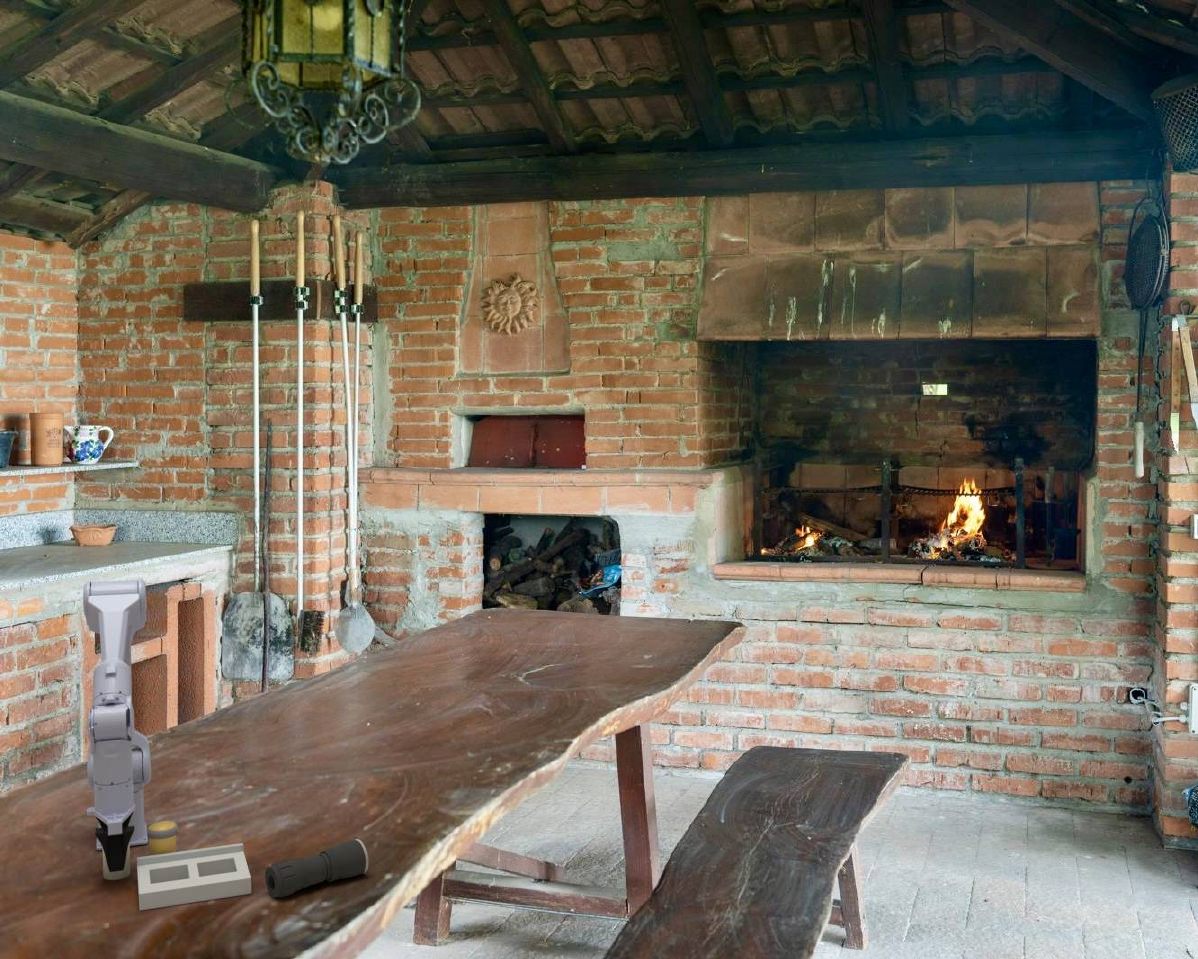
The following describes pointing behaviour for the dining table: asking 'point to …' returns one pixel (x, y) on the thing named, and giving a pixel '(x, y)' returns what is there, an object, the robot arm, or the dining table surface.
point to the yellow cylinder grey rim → (162, 837)
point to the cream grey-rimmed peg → (117, 874)
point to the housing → (192, 876)
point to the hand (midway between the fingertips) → (116, 863)
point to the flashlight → (317, 868)
